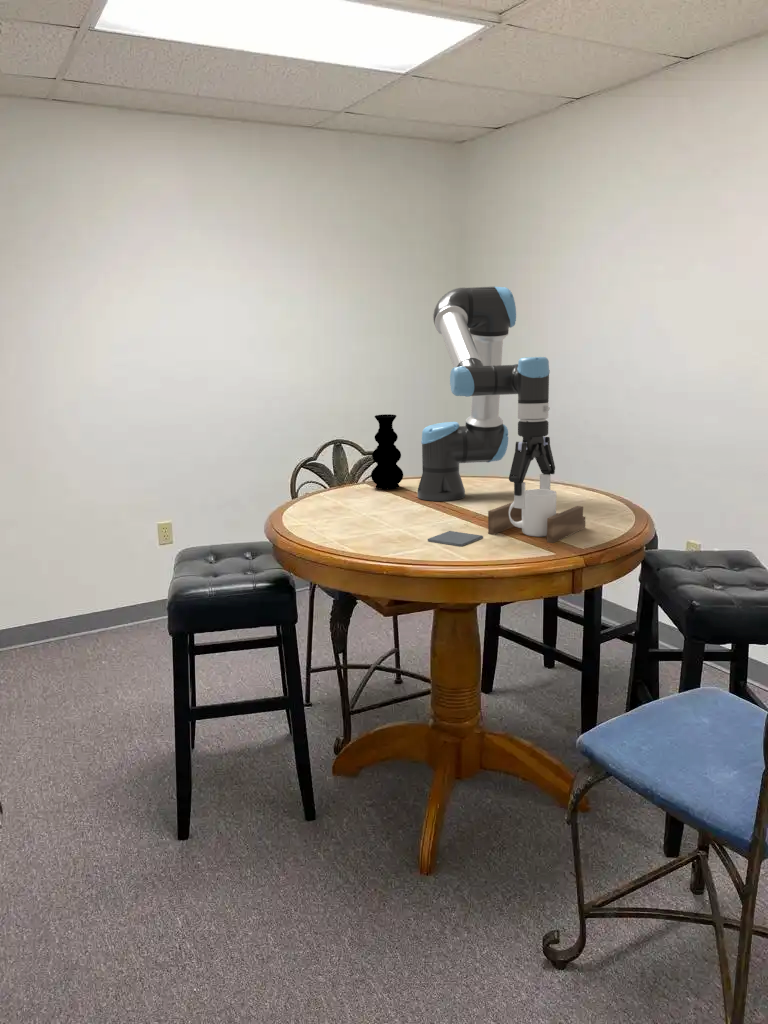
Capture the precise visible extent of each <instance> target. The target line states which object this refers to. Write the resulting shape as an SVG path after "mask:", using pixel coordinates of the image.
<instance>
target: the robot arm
mask: <svg viewBox="0 0 768 1024" xmlns="http://www.w3.org/2000/svg"><path fill="white" fill-rule="evenodd" d="M432 315H433V316H432V317H433V319H432V320H433V323H434V326H435V329H436V331H437V333H438V334H440V335H442V336H441V337H442V338H443V342H444V344H445V346H446V350H447V353H448V355H449V358H450V361H451V364H452V367H453V368H451V371H450V375H449V385H450V391H451V393H452V394H453V396H456V397H471V402H470V403H471V404H470V415H469V416H468V417H467V418H466V419H465V425H463V426H462V425H461V426H460V424H459V422H457V421H444V422H438V423H433V424H430V425H427V426H426V427H424V428H423V429H422V432H421V454H422V455H421V458H422V459H421V461H422V464H421V465H422V468H421V469H422V473H421V477H420V481H419V484H418V488H417V492H416V493H417V498H418V499H421V500H423V501H431V502H433V501H434V502H435V501H436V502H441V501H442V502H445V501H455V500H460V499H463V498H465V497H466V489H465V487H464V483H463V480H462V477H461V474H460V464H465V463H466V464H469V463H491V462H498V461H501V460H502V459H503V458H504V457H505V455H506V453H507V449H508V444H509V429H508V427H507V425H506V424H504V420H503V419H502V418H501V417H500V416H499V413H500V411H499V410H500V396H504V395H505V396H506V395H509V396H510V395H517V418H518V419H519V420H518V422H517V435H518V436H519V437H522V441H516V442H515V448H514V454H513V459H512V464H511V467H510V471H509V477H508V481H510V483H513V502H514V508H520V509H525V490H526V482H524V480H525V479H526V475H527V473H528V471H529V467H530V464H531V462H532V461H533V460H534V459H535V461H536V463H537V466H538V467H539V470H540V472H541V473H540V474H539V489H547V490H551V482H552V481H551V480H552V479H551V477H552V476H551V475H555V472H556V466H555V461H554V456H553V452H552V448H551V441H550V440H551V439H550V438H551V437H550V436H548V435H549V421H548V420H547V419H548V418H549V411H550V410H551V409H550V407H549V398H550V397H549V395H550V388H549V387H550V373H551V371H550V362H549V359H548V358H547V357H546V356H531V357H530V356H529V357H520V358H519V359H518V360H517V361H518V363H515V364H506V365H505V364H502V363H503V361H502V359H503V346H504V345H503V344H504V339H505V338H506V337H507V336H508V335H509V330H510V329H511V328H514V326H515V325H516V321H517V307H516V302H515V297H514V295H513V293H512V291H511V289H509V288H508V287H504V286H480V287H479V286H477V287H475V286H473V287H456V288H454V289H451V290H450V291H448V292H447V293H445V294H444V295H443V296H442V297H440V299H439V300H438V302H437V303H436V305H435V308H434V311H433V314H432ZM509 328H510V329H509Z"/></svg>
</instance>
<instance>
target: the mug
mask: <svg viewBox="0 0 768 1024" xmlns="http://www.w3.org/2000/svg"><path fill="white" fill-rule="evenodd" d="M512 502H513V503H512ZM512 502H511V503H512V504H511V505H510V508H509V519H510V522H511V523H512V524H513V525H514V527H516V528H518V529H521V532H522V533H523V534H524V535H526V536H528V537H529V536H530V537H537V538H538V537H539V538H540V537H547V518H549V517H552V516H554V515H556V513H557V491H556V490H552V489H550V490H547V489H540V488H531V489H525V509H522V520H521V521H519V522H515V521H513V520H512V518H511V516H510V512H511V510H512V508H513V507H514V501H512Z"/></svg>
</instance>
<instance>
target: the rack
mask: <svg viewBox="0 0 768 1024" xmlns="http://www.w3.org/2000/svg"><path fill="white" fill-rule="evenodd" d="M513 502H514V501H512V502H510V503H507V504H504V505H501V506H499V507H498V506H497V507H495V508H493V509H490V510H488V511H487V518H488V519H487V520H488V521H487V523H488V524H487V526H488V527H487V528H488V529H487V530H488V532H487V533H488V534H489V535H496V534H498V533H501V532H503V531H505V530H508V529H510V528H514V527H515V526H514V525H513V524H512V523H511V522H510V519H509V508H510V505H511V504H512V503H513ZM510 516H511V518H512V520H513V521H515V522H519V521H521V520H522V509H520V508H514V507H513V508H512V510H511V512H510ZM584 529H586V516H585V515H584V506H581V505H576V506H574V507H571V508H569V509H566V510H564V511H561V512H560V513H557V512H556V515H554V516H552V517H549V518H547V536H546V543H549V544H554V543H557V542H558V541H560V540H562V539H565V538H566V537H569V536H570V535H573V534H575V533H577V532H579V531H581V530H584Z"/></svg>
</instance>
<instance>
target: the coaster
mask: <svg viewBox="0 0 768 1024" xmlns="http://www.w3.org/2000/svg"><path fill="white" fill-rule="evenodd" d="M481 539H484V535H482V534H475V533H468V532H467V533H466V532H460V531H454V530H448V531H446V532H442V533H439V534H437V535H435V536H431V537H429V538H427V542H430V543H438V544H441V545H442V544H443V545H450V546H456V547H464V546H466V545H469V544H471V543H473V542H477V541H479V540H481Z"/></svg>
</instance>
